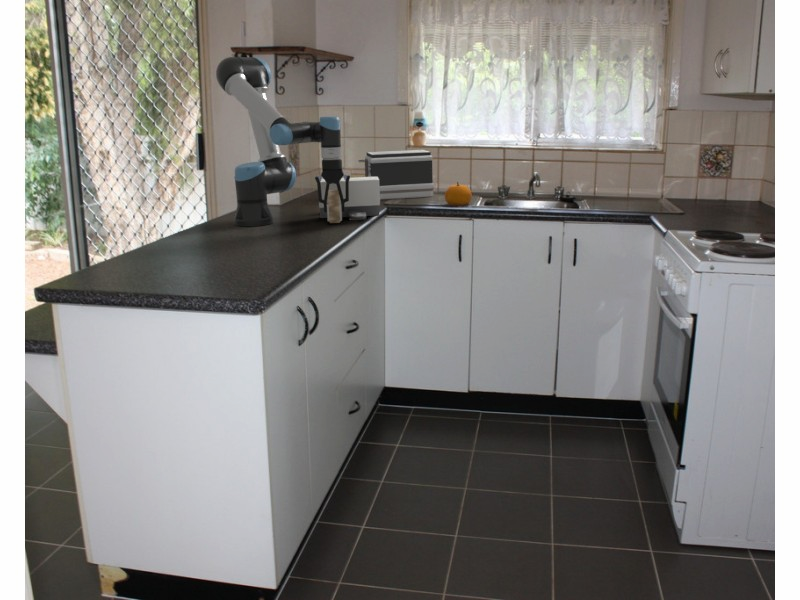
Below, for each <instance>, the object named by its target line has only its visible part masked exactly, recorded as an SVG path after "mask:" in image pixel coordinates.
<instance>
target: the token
mask: <svg viewBox="0 0 800 600" xmlns="http://www.w3.org/2000/svg"><path fill="white" fill-rule="evenodd" d="M348 219H349V220H350V219H351V221H362V219H363V220H366V219H367V216H366V211H364V210H354V211H349V217H348Z"/></svg>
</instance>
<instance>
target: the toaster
mask: <svg viewBox="0 0 800 600" xmlns="http://www.w3.org/2000/svg"><path fill="white" fill-rule="evenodd" d="M431 154H432V152H431V151H430V150H429V151H428V150H425V149H415V150H413V149H412V150H411V149H410V150H392V151H391V150H390V151H389V150H388V151H367V152H366V155H365V157H364V159H358V163H364V175H365V176H364V177H378V178H379V185H380V201H381V200H398V199H401V200H402V199H412V198H413V199H414V198H430V197H431V198H432V197H434V189H435V186H434V181H433V160H434V159H433V158H434V156H433V155H431Z"/></svg>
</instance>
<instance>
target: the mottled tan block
mask: <svg viewBox="0 0 800 600" xmlns="http://www.w3.org/2000/svg"><path fill="white" fill-rule="evenodd" d="M328 201H329V219H330V221H329V224H339V223H341V221H340V208H339V191H338V190H329V191H328Z"/></svg>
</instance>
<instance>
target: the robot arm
mask: <svg viewBox="0 0 800 600" xmlns="http://www.w3.org/2000/svg"><path fill="white" fill-rule="evenodd" d="M215 75H216V76H215V77H216V80H217V83H218V84H219V87H220V88H221V89H222V90H223V91H224V92H225V93H226V94H227V95H229V96H233V97H234V98H235V99H236V101H238V102H239V103H240V104H241V105H242V106H243V107H244V109H245V108H246V110H247V111H248V117H249V119H250V123H251V124H250V125H251V127H252V132H253V135H254V141H255V143H256V147H257V151H258V155H259V159H258V161H253V162H252V161H251V162H247V163H242V164H238V165H237V166H236V167H235V168H234V183H235V191H236V209H235V213H234V218H233V223H234V225H235V226H236V227H259V226H267V225H271V224H273V223H274V216H273V214H272V211H271V209H270V206H269V203H268V196H267V195H271V194H277V193H279V194H281V193H284V192H287V191H290V190H291V189H292V188H293V187H294V185H295V183H296V180H297V171H296V169H295V168H296V167H295V166H294V165H293V164H292V163H291V162H289V161H287V156H286V155H285V154H283V153H282V152H281V148H280V146H289V145H298V144H306V143H320V150H321V153H320V154H321V155H320V156H321V170H322V171H321V174H319V175H315V176H314V179H315V182H316V185H317V195H318V196H317V197H318V198H317V199H318V203H319V202H320V203H323V204H324V212H327V217H328V218H327V222H330V219H329V203H327V198H328V191H329V185H330V184H332V183H334V184H336V185H337V189H338V191H339V196H340V200H341V203H339V208H340V222H341V221H343V217H342V212H344V210H345V209H344V203H345V202H348V201H349V179H350V178H351V175H350V174H345V173H344V171H343V160H342V159H341V158H342V145H341V141H342V140H341V138H342V137H341V124H340V118H339V117H338V116H320V118H319V120H318V121H319V122H317V121H302V122H301V121H300V122H292V123H291V122H289V121H288V120H287V119H286V117H284V115H282V114H281V113H280V112H279V111H278V110H277V109H276V108H275V107H274V106H273V105H272V104H271V103H270V102H269V101H268V97H267V93H268V91H269V85H270V83H271V79H272V71H271V69H270V66H269V64H268V63H267V62H266V61H265V60H263V59H262V58H260V57H253V56H249V57H246V56H245V57H243V56H229V57H225V58H224V59H222V60H220V62H219V63H218V65H217V67H216V70H215ZM342 178H344V180H346V181H345V193H346V198H345V199H343V195H342V191H341V187H340V183H339V182H340V180H341V179H342ZM321 179H324V180H325V181H326V182H327V183H326V190H325V197H324V200H323V199H322V194H321V183H320V181H321Z"/></svg>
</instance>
